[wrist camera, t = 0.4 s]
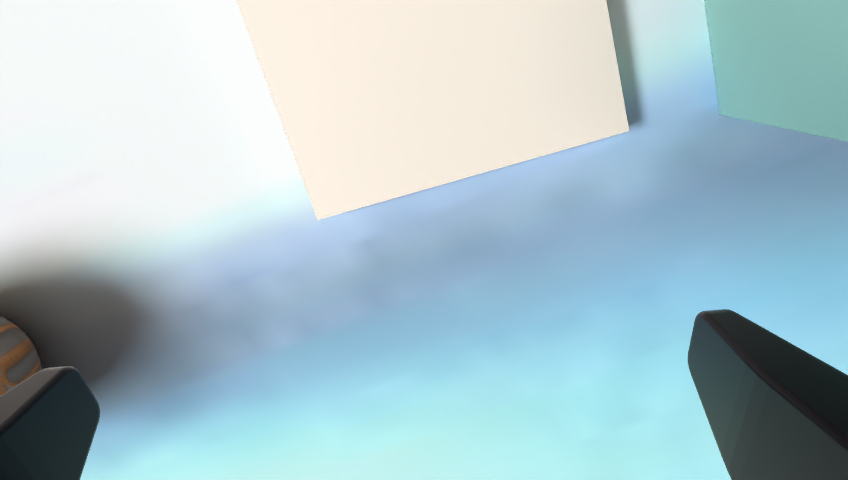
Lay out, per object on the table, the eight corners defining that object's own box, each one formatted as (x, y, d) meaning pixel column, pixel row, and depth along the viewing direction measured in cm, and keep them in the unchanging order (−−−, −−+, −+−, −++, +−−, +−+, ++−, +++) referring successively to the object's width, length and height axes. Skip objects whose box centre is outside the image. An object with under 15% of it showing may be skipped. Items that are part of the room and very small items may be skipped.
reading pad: (622, 128, 21) (629, 131, 20) (321, 214, 22) (317, 220, 21) (554, -249, 17) (560, -263, 16) (198, -121, 18) (188, -128, 18)
